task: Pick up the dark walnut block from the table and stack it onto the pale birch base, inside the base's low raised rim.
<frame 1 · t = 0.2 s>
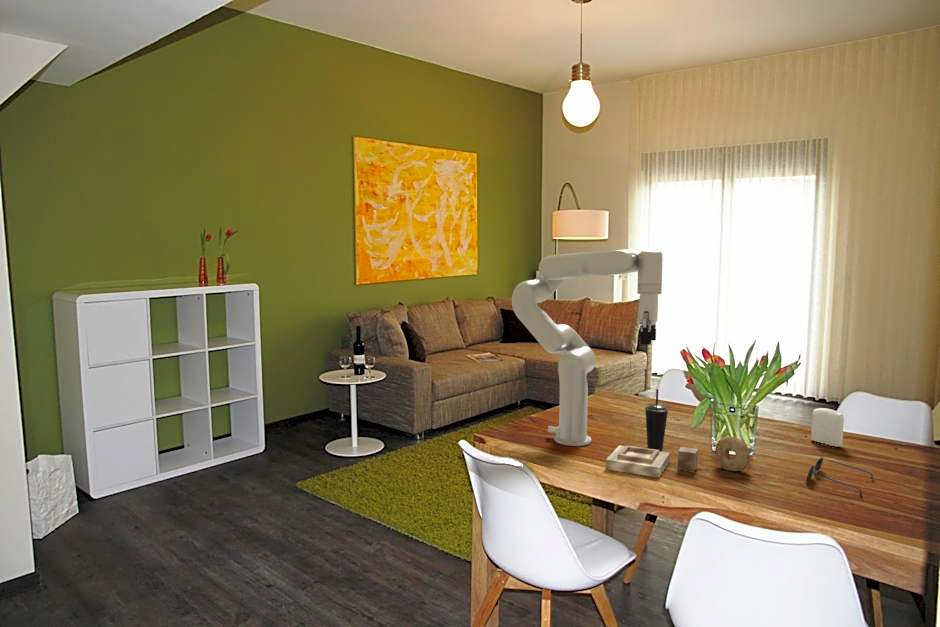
hand: (648, 342, 222), 36 cm above the table, tool pointing down, fingers open, 9 cm apart
photo printer: (826, 445, 235), on the table
stone disc: (731, 470, 209), on the table
drinking cup: (655, 449, 230), on the table
walnut block: (687, 469, 210), on the table
base: (638, 465, 212), on the table
sunglasses: (839, 485, 199), on the table
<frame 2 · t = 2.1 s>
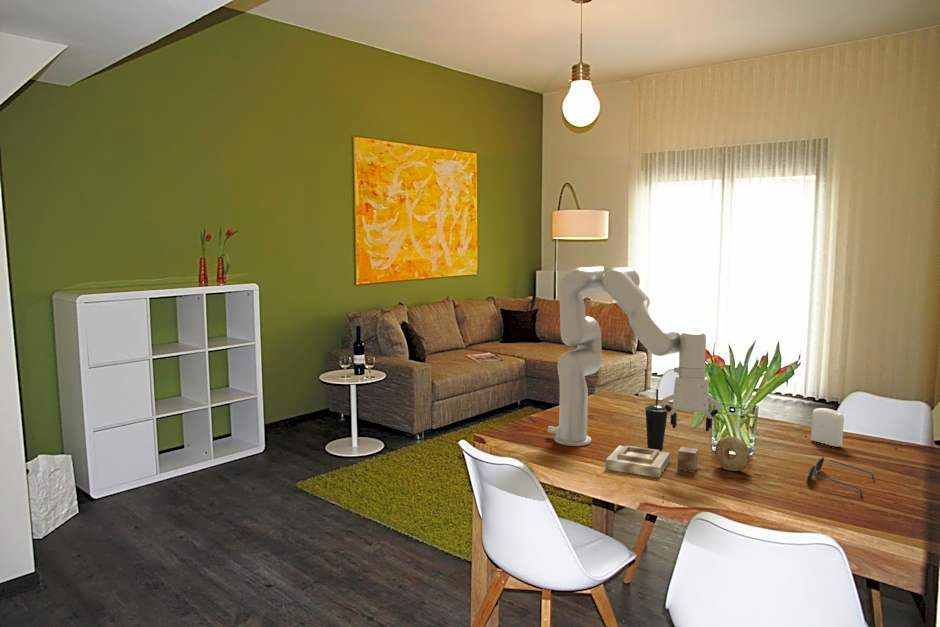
hand: (690, 428, 208), 13 cm above the table, tool pointing down, fingers open, 9 cm apart
nothing on the table moved.
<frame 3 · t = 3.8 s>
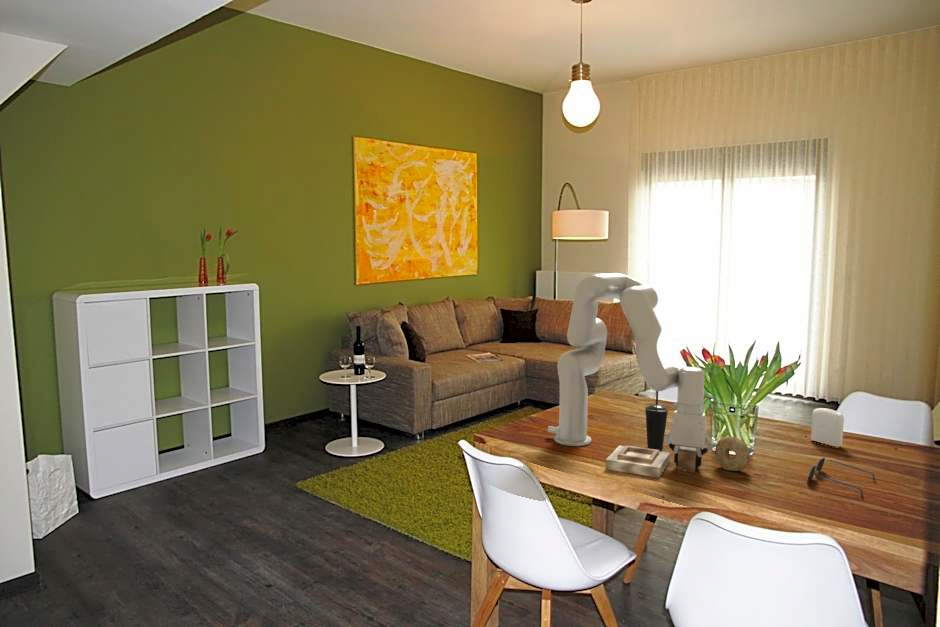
hand: (687, 466, 210), 1 cm above the table, tool pointing down, fingers closed on walnut block, 5 cm apart
walnut block: (687, 468, 210), on the table, touching gripper
everything else where it was.
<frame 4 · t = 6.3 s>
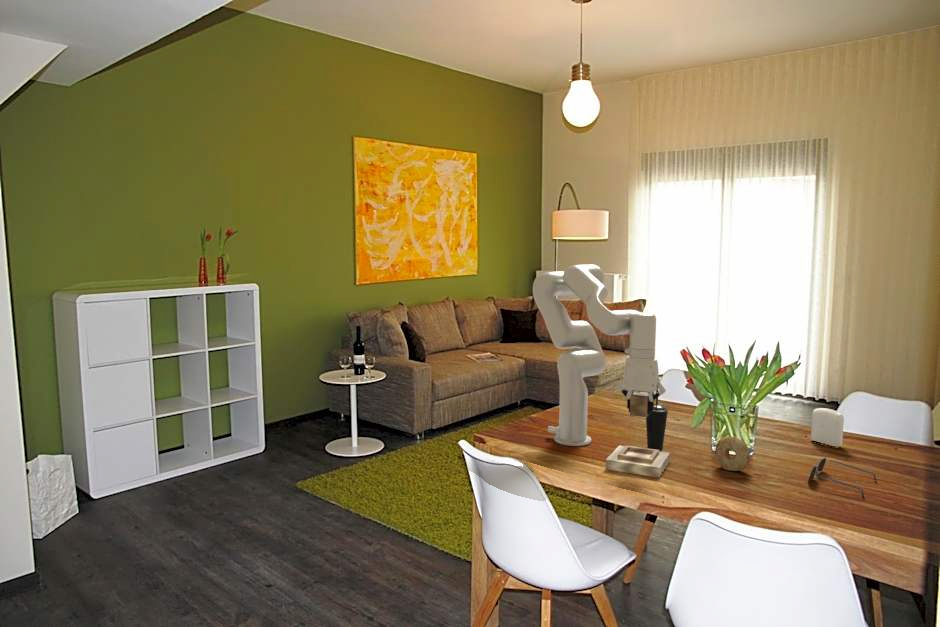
hand: (640, 411, 210), 17 cm above the table, tool pointing down, fingers closed on walnut block, 5 cm apart
walnut block: (640, 414, 210), point 16 cm above the table, touching gripper
everything else where it was.
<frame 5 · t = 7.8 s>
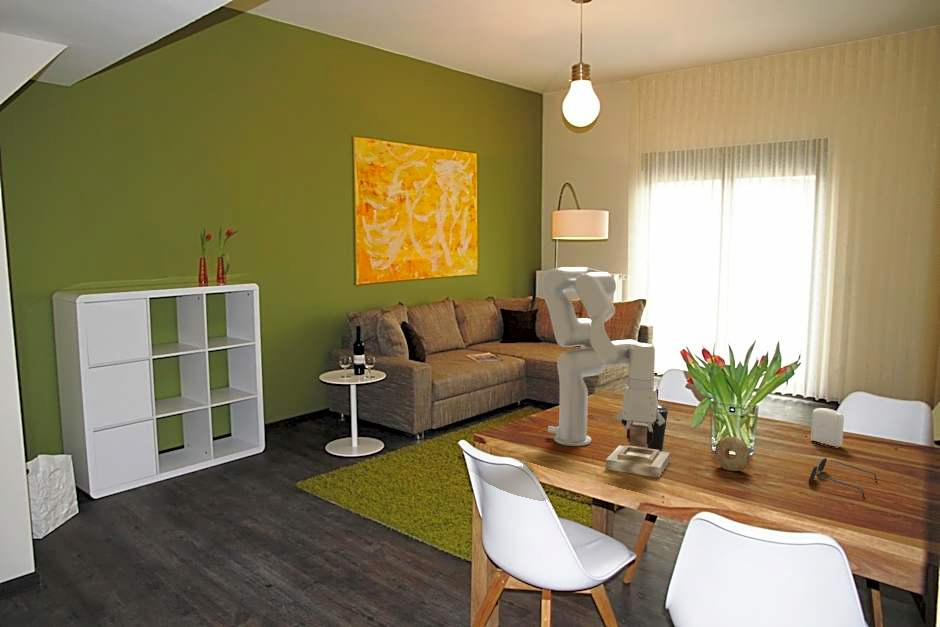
hand: (639, 441, 211), 8 cm above the table, tool pointing down, fingers closed on walnut block, 5 cm apart
walnut block: (639, 444, 211), point 7 cm above the table, touching gripper
everything else where it was.
when the fingers open (5 cm above the table, at t = 8.8 s): walnut block stays where it is, resting on base.
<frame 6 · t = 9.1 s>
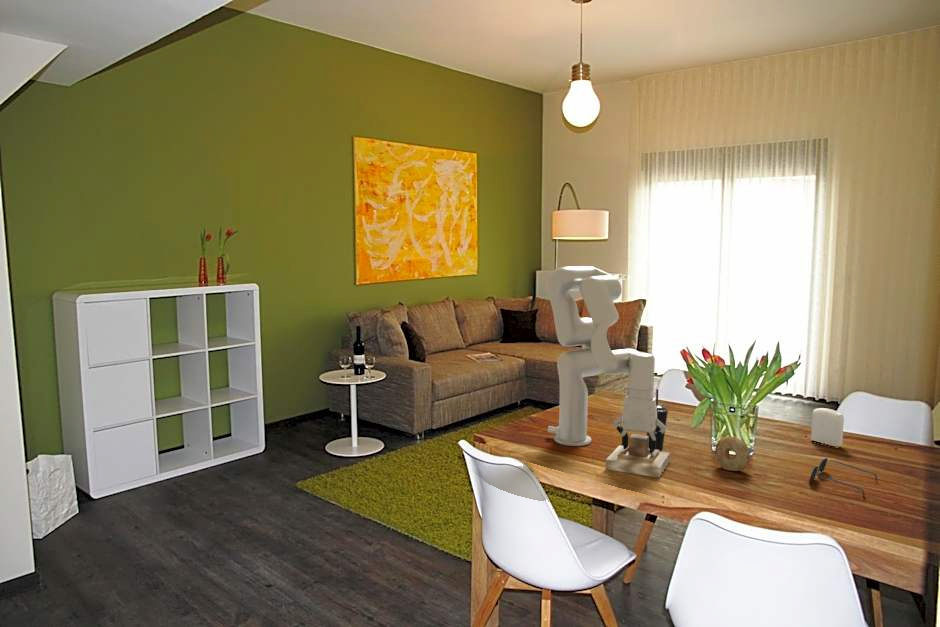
hand: (638, 449, 212), 5 cm above the table, tool pointing down, fingers open, 7 cm apart
walnut block: (638, 456, 212), point 3 cm above the table, touching base
everything else where it was.
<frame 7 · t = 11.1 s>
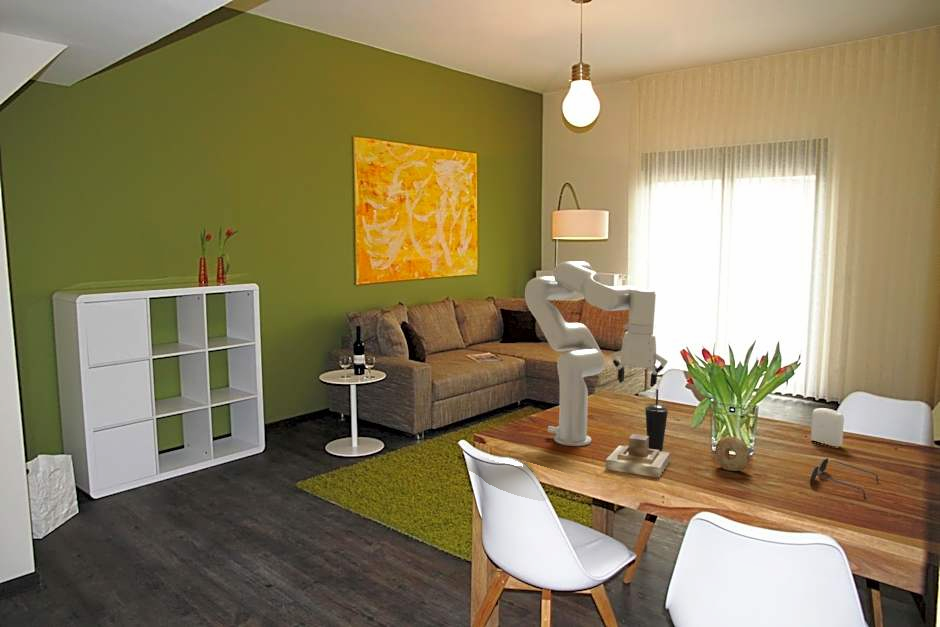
hand: (636, 383, 213), 25 cm above the table, tool pointing down, fingers open, 9 cm apart
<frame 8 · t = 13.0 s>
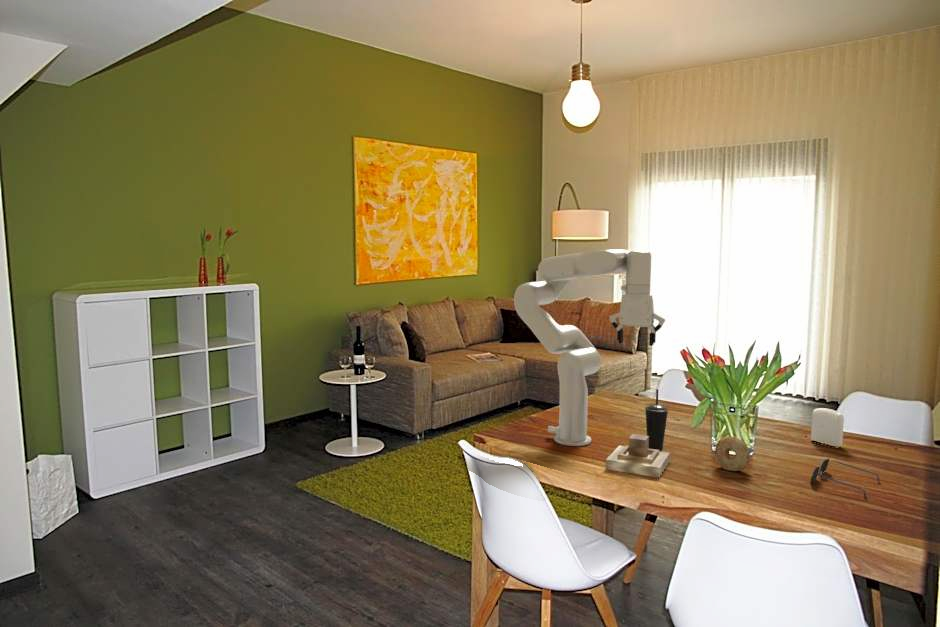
hand: (635, 344, 218), 36 cm above the table, tool pointing down, fingers open, 9 cm apart
at the end: walnut block 0.1 cm from the base (horizontally); walnut block touching base; walnut block tilted 0° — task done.
